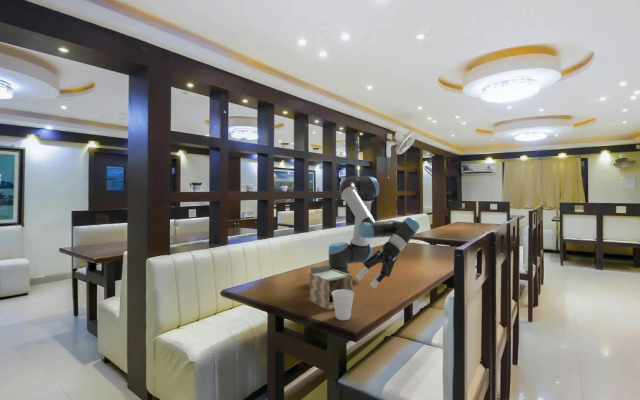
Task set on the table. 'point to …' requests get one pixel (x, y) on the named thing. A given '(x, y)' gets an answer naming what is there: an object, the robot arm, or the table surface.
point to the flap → (327, 273)
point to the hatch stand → (327, 288)
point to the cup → (342, 303)
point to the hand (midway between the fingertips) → (364, 282)
